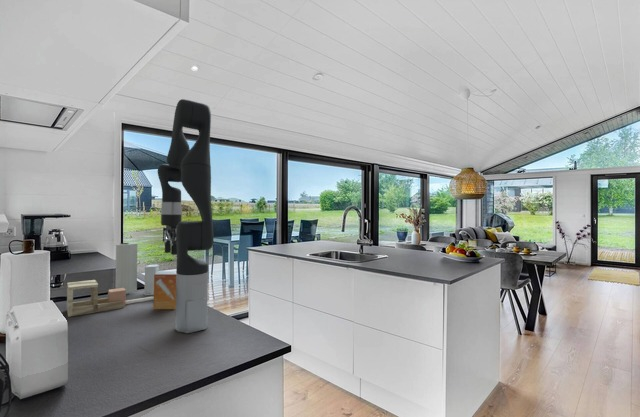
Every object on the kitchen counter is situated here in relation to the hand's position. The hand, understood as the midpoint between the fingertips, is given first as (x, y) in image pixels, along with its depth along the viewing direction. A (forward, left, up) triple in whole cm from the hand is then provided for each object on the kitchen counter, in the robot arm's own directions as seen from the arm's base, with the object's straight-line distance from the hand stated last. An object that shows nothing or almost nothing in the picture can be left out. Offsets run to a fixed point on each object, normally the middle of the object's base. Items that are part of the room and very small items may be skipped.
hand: (170, 253), depth 130 cm
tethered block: (+3, +11, -19) cm, 22 cm away
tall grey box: (+21, +13, -19) cm, 31 cm away
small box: (-10, +4, -19) cm, 21 cm away
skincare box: (+14, +4, -19) cm, 24 cm away
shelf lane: (+3, +24, -19) cm, 31 cm away
